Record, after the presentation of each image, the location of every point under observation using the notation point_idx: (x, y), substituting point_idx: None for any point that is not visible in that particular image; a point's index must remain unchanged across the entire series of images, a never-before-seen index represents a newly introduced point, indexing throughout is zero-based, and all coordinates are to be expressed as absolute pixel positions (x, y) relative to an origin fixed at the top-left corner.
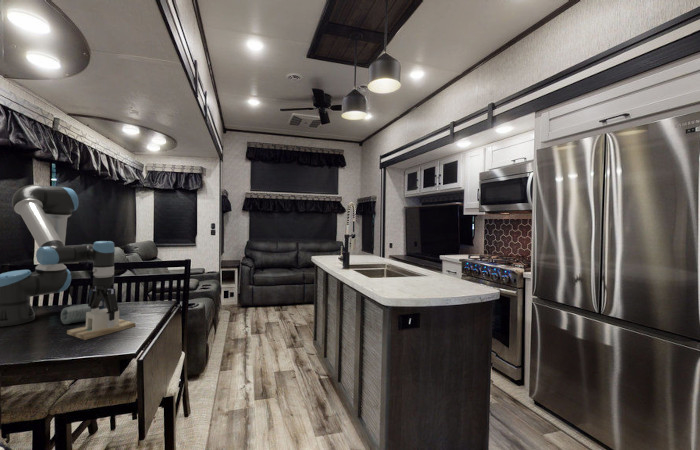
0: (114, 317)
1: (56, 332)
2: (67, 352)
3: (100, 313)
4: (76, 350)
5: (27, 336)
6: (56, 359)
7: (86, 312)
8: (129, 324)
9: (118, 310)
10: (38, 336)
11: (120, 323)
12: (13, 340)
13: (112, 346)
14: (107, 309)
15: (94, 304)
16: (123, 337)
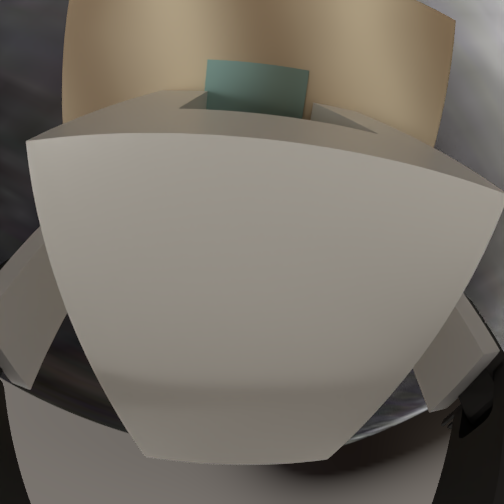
0: (477, 310)
1: (55, 340)
2: (380, 411)
3: (344, 437)
4: (397, 397)
5: (51, 384)
6: (390, 425)
7: (151, 457)
8: (445, 72)
9: (485, 207)
10: (74, 381)
11: (322, 62)
12: (75, 408)
13: (496, 331)
14: (449, 453)
15: (8, 454)
16: (501, 255)
